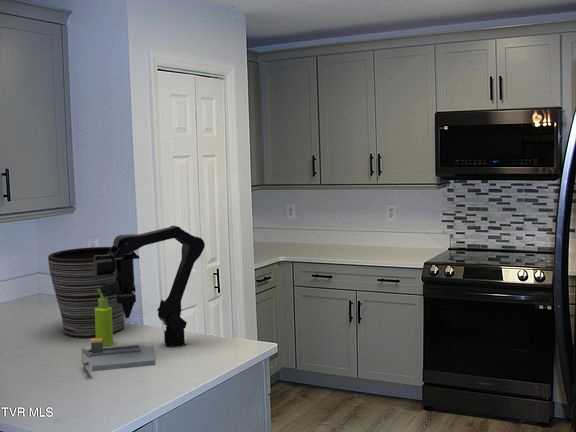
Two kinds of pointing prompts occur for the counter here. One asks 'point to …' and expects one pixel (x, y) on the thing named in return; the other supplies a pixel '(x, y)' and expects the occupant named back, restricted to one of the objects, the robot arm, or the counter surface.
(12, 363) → the counter surface
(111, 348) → the console
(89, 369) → the rack door
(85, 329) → the planter pot
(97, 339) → the fader knob
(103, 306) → the soap dispenser
